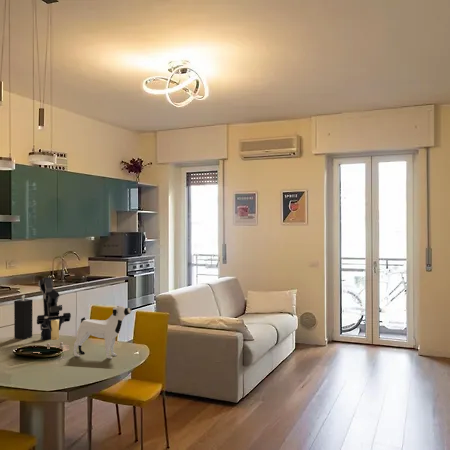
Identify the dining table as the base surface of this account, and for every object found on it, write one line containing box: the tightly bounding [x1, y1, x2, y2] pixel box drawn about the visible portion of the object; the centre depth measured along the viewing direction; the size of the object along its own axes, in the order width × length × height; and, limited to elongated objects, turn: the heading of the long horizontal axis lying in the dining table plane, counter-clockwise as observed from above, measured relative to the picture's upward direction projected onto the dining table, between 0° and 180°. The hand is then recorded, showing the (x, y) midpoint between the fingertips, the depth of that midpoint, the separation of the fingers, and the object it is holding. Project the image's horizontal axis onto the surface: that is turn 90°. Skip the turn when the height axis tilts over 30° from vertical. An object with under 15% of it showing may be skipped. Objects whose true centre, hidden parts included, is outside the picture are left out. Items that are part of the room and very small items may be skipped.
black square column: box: [13, 294, 33, 340], centre depth 302 cm, size 8×8×28 cm
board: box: [33, 341, 70, 354], centre depth 269 cm, size 26×14×4 cm, turn 112°
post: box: [50, 320, 60, 341], centre depth 271 cm, size 4×4×11 cm
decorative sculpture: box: [73, 305, 132, 360], centre depth 259 cm, size 10×32×30 cm, turn 78°
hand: (55, 330), depth 270 cm, fingers closed on post, 4 cm apart
